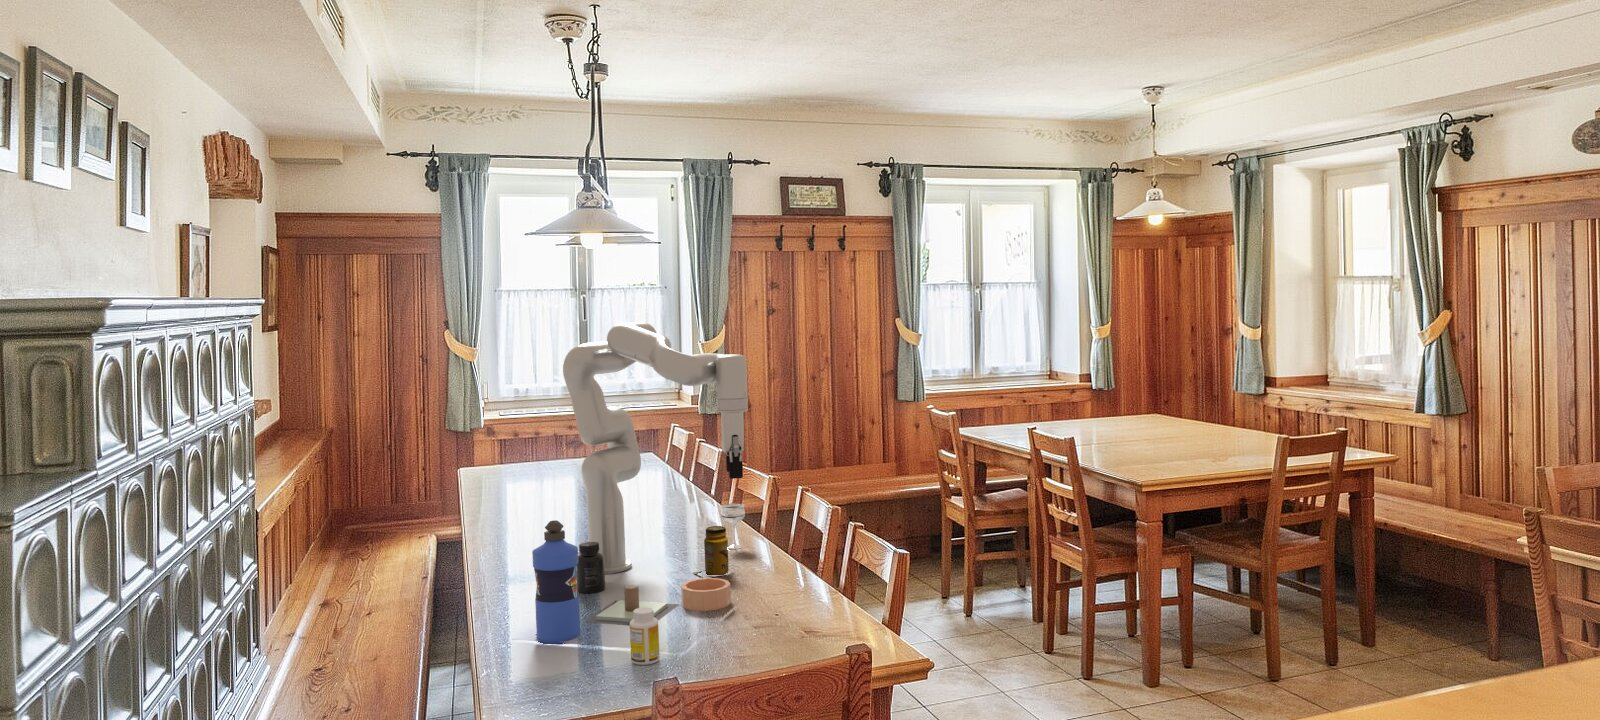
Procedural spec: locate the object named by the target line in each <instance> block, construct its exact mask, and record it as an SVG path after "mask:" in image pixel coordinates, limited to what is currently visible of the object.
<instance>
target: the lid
mask: <svg viewBox="0 0 1600 720" xmlns="http://www.w3.org/2000/svg"><path fill="white" fill-rule="evenodd" d="M639 592H640V589H639V586H638V585H626V586H625V587H623V593H624V597H623V598H624V599H619V600H616V601H617V602H616V603H614V604H613V605H611V606H610V607H608V608H607V609H605V610H604V611H602V612H601V613H599V614H598V615H596V620H609V621H624V622H630V621H631V620H632V619H633V611H634V610H635V609H637V608H642V607H649V608H652V609H653V610H654V616H656V615H657V614H658V613H660V612H661V611H662V610H663V609H665V608H666V607H667V604H668V602H658V601H657V602H656V601H641V600H640V593H639Z"/></svg>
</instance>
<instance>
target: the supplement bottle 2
mask: <svg viewBox="0 0 1600 720" xmlns="http://www.w3.org/2000/svg"><path fill="white" fill-rule="evenodd" d="M659 635H660V634H659V620H657V619H656V618H655V617H654V610H653V609H652V608H649V607H642V608H637V609H635V610H634V611H633V619H632V620H631V621H630V625H629V639H630V657H631V662H632V663H633V664H634V665H639V666H647V665H652V664H655V663H657V662H658V661H659V660H660V636H659Z"/></svg>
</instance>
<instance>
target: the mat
mask: <svg viewBox="0 0 1600 720" xmlns="http://www.w3.org/2000/svg"><path fill="white" fill-rule="evenodd" d="M617 601H618V600H614V601H612V602H611V603H609V604H608V605H606V606H605V607H603V608H602V609H600V610H599V611H597V612H596V613H594V614H593V615H592V616H591V615H590V617H589V618H587V619H585V620H584V621H583V623H590V624H591V623H592V624H605V625H607V624H608V625H619V626H630V622H624V621H609V620H596V615H598V614H599V613H601V612H602V611H604V610H605V609H607V608H608V607H610V606H611V605H613V604H614V603H616V602H617ZM679 605H680V604H678V603H677V604H676V603H667V607H666V608H665V609H663V610H662V611H661V612H660V613H658V614H657V615H656V616H654V617H655V618H656V619H657V620H658V621H660V620H661V619H663V618H664V617H665V616H666V615H668V614H669V613H671V611H672V610H674V609H676V607H678V606H679Z"/></svg>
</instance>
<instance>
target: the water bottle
mask: <svg viewBox="0 0 1600 720" xmlns="http://www.w3.org/2000/svg"><path fill="white" fill-rule="evenodd" d="M563 528H564V524H563V523H561V522H560V521H559V520H550V521H549V522H548V523H547V524H546V525H545V526H544V529H545V530H546V531H544V532H543V533H544V534H543V535H544V541H545V542H544V543H543V544H542V545H540V546H538V547H536V548H535V549H533V550H532V566H533V570H534V577H535V582H536V590H535V592H536V593H535V598H534V599H535V600H534V601H535V604H534V605H535V622H536V623H535V625H536V626H535V627H536V629H535V630H536V639H537V641H538V642H540V643H543V644H542V645H544V644H561V645H564V644H563V643H564V642H567V641H570V640H571V641H572V640H575V639H576V638H578V637H579V636H581V633H582V631H581V614H580V613H581V609H580V595H579V594H580V593H578V588H577V580H576V579H577V565H578V551H579V546H576V545H574V544H572V543H569V542H567V541H566V540H565V539H566V531H565V530H564V529H563ZM538 642H537V643H538ZM540 643H539V644H540Z"/></svg>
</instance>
